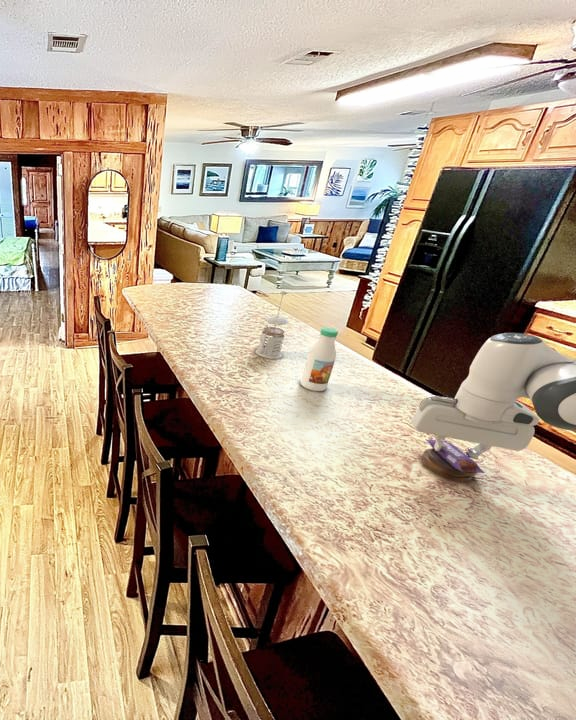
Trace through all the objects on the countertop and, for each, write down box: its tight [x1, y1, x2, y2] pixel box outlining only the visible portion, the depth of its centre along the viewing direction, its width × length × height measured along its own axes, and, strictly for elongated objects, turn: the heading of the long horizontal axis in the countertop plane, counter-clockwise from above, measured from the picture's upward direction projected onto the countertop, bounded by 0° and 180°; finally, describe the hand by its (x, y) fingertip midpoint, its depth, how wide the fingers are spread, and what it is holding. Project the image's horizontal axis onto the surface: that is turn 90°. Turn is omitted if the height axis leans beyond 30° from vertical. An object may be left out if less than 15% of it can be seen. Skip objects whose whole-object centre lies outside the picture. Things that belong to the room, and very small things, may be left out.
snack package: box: [425, 439, 485, 474], centre depth 91 cm, size 12×2×5 cm
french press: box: [255, 290, 289, 360], centre depth 145 cm, size 10×12×25 cm
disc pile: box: [422, 448, 478, 483], centre depth 92 cm, size 10×10×3 cm
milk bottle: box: [300, 327, 339, 392], centre depth 124 cm, size 8×8×20 cm
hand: (454, 453), depth 91 cm, fingers closed on snack package, 5 cm apart
